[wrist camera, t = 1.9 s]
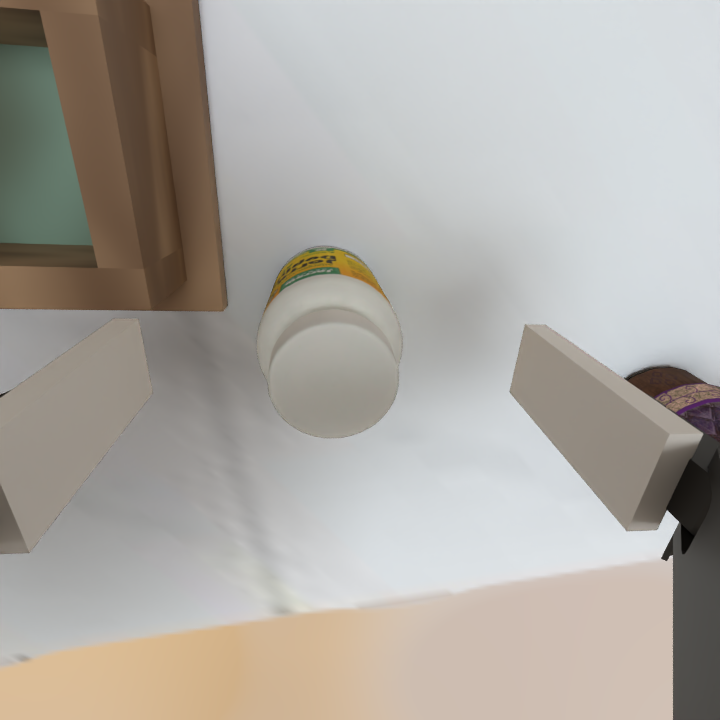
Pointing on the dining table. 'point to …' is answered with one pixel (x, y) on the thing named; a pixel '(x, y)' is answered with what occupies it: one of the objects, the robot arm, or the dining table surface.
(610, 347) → the dining table surface
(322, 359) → the supplement bottle
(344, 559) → the dining table surface
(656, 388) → the mug
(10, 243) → the walnut caddy
